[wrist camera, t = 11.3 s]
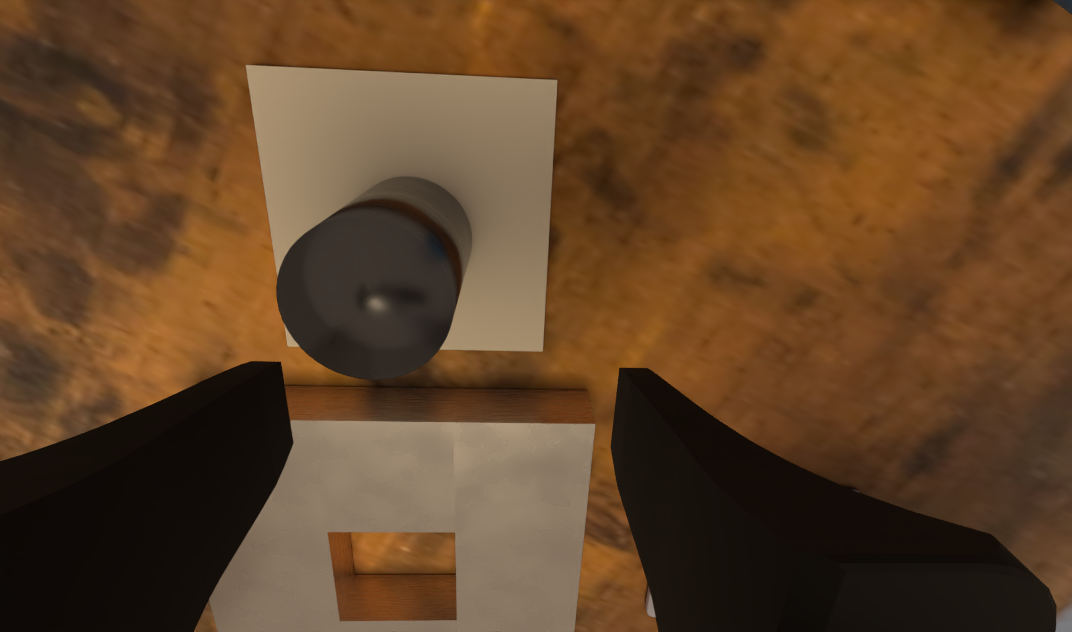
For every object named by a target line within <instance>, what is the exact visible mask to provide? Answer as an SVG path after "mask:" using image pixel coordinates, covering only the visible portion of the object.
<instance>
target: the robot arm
mask: <svg viewBox="0 0 1072 632" xmlns="http://www.w3.org/2000/svg"><path fill="white" fill-rule="evenodd" d="M293 444H294V442H293V436H292V430H291V423H290V417H289V411H288V404H287V398H286V391H285V385H284V379H283V372H282V366H281V362H263V361H251V362H248V363H244V364H241V365H239V366H236V367H234V368H231V369H229V370H226V371H224V372H222V373H220V374H217V375H215V376H213V377H211V378H209V379H206V380H204V381H202V382H200V383H198V384H196V385H193V386H191V387H189V388H187V389H185V390H183V391H181V392H178V393H176V394H174V395H172V396H170V397H168V398H165V399H163V400H161V401H159V402H157V403H154V404H152V405H150V406H147V407H145V408H143V409H140V410H138V411H136V412H133V413H131V414H129V415H126V416H124V417H122V418H119V419H117V420H115V421H112V422H110V423H108V424H105V425H103V426H100V427H98V428H95V429H93V430H90V431H88V432H85V433H82V434H80V435H77V436H75V437H72V438H69V439H66V440H63V441H61V442H58V443H55V444H52V445H49V446H46V447H44V448H41V449H38V450H35V451H32V452H29V453H26V454H23V455H20V456H16V457H13V458H10V459H6V460H3V461H0V632H194V630H195V628H196V625H197V623H198V621H199V619H200V617H201V615H202V613H203V611H204V608H205V606H206V604H207V602H208V600H209V598H210V597H211V595H212V593H213V591H214V589H215V587H216V586H217V584H218V582H219V580H220V578H221V577H222V575H223V573H224V572H225V570H226V568H227V567H228V565H229V563H230V562H231V560H232V558H233V557H234V555H235V553H236V552H237V550H238V548H239V547H240V545H241V544H242V542H243V540H244V539H245V537H246V535H247V534H248V532H249V530H250V529H251V527H252V525H253V524H254V522H255V520H256V519H257V517H258V515H259V514H260V512H261V510H262V509H263V507H264V505H265V504H266V502H267V500H268V498H269V497H270V495H271V493H272V492H273V490H274V488H275V486H276V485H277V483H278V480H279V478H280V476H281V473H282V471H283V469H284V467H285V464H286V462H287V459H288V456H289V454H290V451H291V449H292V446H293ZM611 451H612V457H613V464H614V470H615V475H616V481H617V486H618V490H619V493H620V496H621V500H622V503H623V506H624V509H625V512H626V516H627V519H628V522H629V525H630V528H631V531H632V535H633V538H634V541H635V544H636V547H637V550H638V553H639V557H640V560H641V563H642V566H643V569H644V572H645V575H646V579H647V583H648V592H647V598H646V604H645V607H646V611H647V614H648V615H649V616H651V617H656V621H657V626H658V631H659V632H1055V631H1056V604H1055V601H1054V599H1053V597H1052V595H1051V592H1050V590H1049V588H1048V587H1047V586H1046V585H1044V584H1043V583H1042V582H1041V581H1040V580H1039V579H1038V578H1037V577H1036V576H1035V575H1034V574H1033V573H1032V572H1031V571H1030V570H1029V569H1028V568H1026V567H1025V566H1024V565H1023V564H1022V563H1021V562H1020V561H1019V560H1018V559H1017V558H1016V557H1015V556H1014V555H1013V554H1012V553H1011V552H1010V551H1008V550H1007V549H1006V548H1005V547H1004V546H1003V545H1002V544H1001V543H1000V542H999V541H998V540H997V539H996V538H995V537H994V536H992V535H991V534H988V533H985V532H981V531H978V530H974V529H971V528H967V527H964V526H960V525H957V524H954V523H950V522H947V521H943V520H940V519H936V518H933V517H929V516H926V515H923V514H919V513H916V512H913V511H910V510H906V509H904V508H901V507H898V506H895V505H892V504H889V503H887V502H884V501H881V500H878V499H875V498H873V497H870V496H867V495H864V494H862V493H860V492H859V491H857V490H852V489H849V488H846V487H844V486H841V485H839V484H837V483H834V482H832V481H830V480H828V479H825V478H823V477H821V476H819V475H816V474H814V473H812V472H810V471H807V470H805V469H803V468H801V467H799V466H797V465H795V464H793V463H791V462H789V461H787V460H785V459H783V458H781V457H779V456H777V455H775V454H774V453H772V452H770V451H768V450H766V449H764V448H763V447H761V446H759V445H757V444H755V443H754V442H752V441H750V440H749V439H747V438H745V437H744V436H742V435H740V434H739V433H737V432H736V431H734V430H733V429H731V428H730V427H728V426H727V425H725V424H723V423H722V422H720V421H719V420H717V419H716V418H715V417H713V416H712V415H710V414H709V413H707V412H706V411H705V410H703V409H702V408H700V407H699V406H698V405H696V404H695V403H694V402H692V401H691V400H690V399H688V398H687V397H686V396H684V395H683V394H682V393H680V392H679V391H678V390H677V389H675V388H674V387H673V386H671V385H670V384H669V383H667V382H666V381H665V380H664V379H662V378H661V377H660V376H658V375H657V374H655V373H654V372H653V371H651V370H649V369H648V368H619V377H618V386H617V395H616V404H615V413H614V422H613V431H612V440H611Z"/></svg>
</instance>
